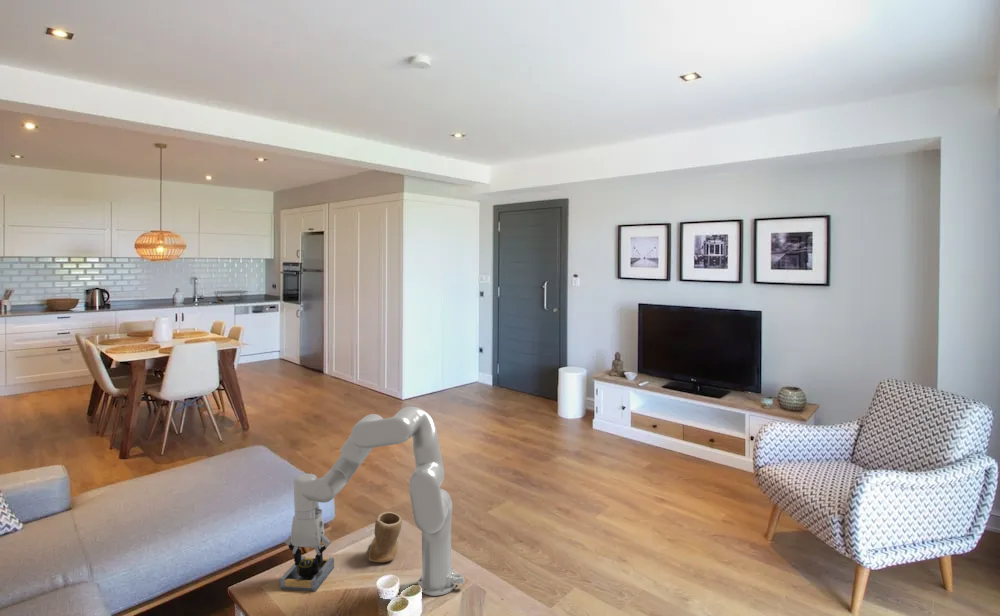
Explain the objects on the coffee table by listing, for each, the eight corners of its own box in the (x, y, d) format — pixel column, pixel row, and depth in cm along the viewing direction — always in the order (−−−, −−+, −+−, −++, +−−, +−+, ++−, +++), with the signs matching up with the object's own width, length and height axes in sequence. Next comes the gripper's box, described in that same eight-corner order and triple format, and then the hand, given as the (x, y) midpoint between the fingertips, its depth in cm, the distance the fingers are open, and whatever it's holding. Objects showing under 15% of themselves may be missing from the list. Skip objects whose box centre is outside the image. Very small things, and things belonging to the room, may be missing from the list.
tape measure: (318, 577, 179) (318, 566, 179) (296, 581, 177) (296, 570, 177) (319, 566, 185) (318, 556, 185) (297, 570, 183) (297, 559, 183)
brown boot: (400, 564, 189) (399, 523, 188) (365, 565, 189) (364, 524, 188) (405, 543, 205) (404, 504, 204) (373, 544, 204) (372, 505, 203)
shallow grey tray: (334, 567, 188) (334, 558, 187) (315, 591, 174) (315, 581, 173) (301, 565, 189) (301, 555, 189) (280, 588, 175) (280, 578, 175)
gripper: (336, 508, 182) (337, 559, 184) (287, 506, 185) (289, 556, 186) (326, 518, 175) (328, 571, 176) (276, 516, 177) (278, 568, 178)
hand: (308, 563), depth 181 cm, fingers closed on tape measure, 6 cm apart
